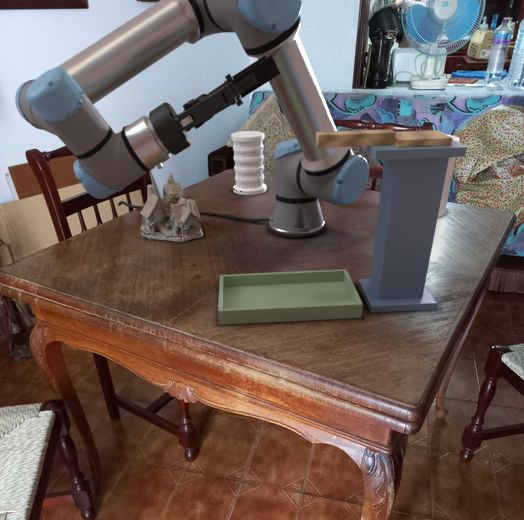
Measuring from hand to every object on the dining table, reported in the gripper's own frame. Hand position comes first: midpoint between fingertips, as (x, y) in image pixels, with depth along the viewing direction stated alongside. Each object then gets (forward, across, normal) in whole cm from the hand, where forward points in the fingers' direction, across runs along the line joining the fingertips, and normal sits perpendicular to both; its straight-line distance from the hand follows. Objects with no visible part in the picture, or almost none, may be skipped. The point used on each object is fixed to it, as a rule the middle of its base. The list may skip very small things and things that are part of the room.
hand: (272, 63), depth 74 cm
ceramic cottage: (-41, -44, -24) cm, 65 cm away
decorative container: (-19, -82, -33) cm, 90 cm away
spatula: (+11, +1, -19) cm, 22 cm away
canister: (+24, -54, -57) cm, 82 cm away
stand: (+2, -1, -48) cm, 48 cm away
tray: (-17, -1, -39) cm, 42 cm away
